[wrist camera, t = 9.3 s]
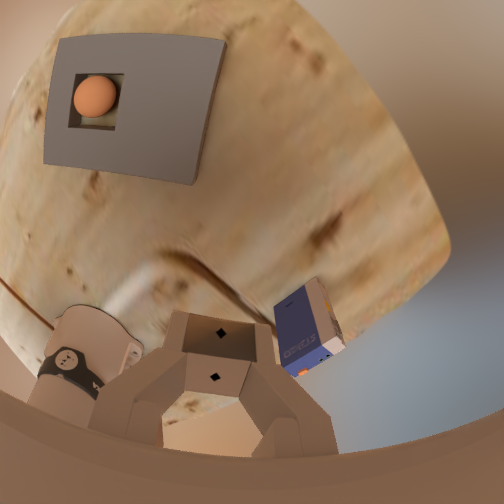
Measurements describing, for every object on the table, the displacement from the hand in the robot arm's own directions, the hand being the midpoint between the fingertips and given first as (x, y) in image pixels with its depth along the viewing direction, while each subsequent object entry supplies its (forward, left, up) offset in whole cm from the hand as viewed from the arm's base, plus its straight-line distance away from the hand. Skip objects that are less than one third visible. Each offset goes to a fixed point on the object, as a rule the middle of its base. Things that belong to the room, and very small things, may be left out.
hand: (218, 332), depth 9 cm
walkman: (-17, -13, -26) cm, 34 cm away
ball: (+6, +17, -24) cm, 30 cm away
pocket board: (+5, +14, -26) cm, 30 cm away
